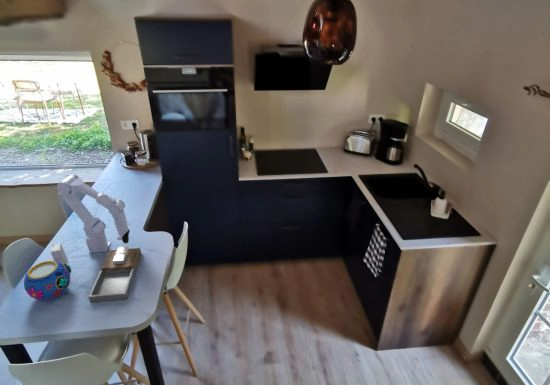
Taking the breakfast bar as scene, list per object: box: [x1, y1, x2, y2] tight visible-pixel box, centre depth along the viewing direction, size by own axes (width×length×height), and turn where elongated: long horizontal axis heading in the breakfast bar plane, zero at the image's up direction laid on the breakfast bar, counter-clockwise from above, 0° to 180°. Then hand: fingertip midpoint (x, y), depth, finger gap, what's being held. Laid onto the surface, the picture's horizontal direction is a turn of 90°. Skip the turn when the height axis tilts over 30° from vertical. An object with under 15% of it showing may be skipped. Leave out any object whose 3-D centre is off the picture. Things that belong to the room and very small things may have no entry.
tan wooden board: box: [100, 247, 142, 272], centre depth 173 cm, size 16×14×4 cm
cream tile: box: [116, 246, 130, 256], centre depth 175 cm, size 5×5×2 cm
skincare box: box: [50, 243, 69, 265], centre depth 169 cm, size 6×4×12 cm
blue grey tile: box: [113, 254, 126, 264], centre depth 170 cm, size 5×5×2 cm
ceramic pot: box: [23, 260, 72, 302], centre depth 153 cm, size 18×18×15 cm
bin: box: [88, 268, 137, 303], centre depth 160 cm, size 16×18×4 cm
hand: (126, 242), depth 182 cm, fingers closed
